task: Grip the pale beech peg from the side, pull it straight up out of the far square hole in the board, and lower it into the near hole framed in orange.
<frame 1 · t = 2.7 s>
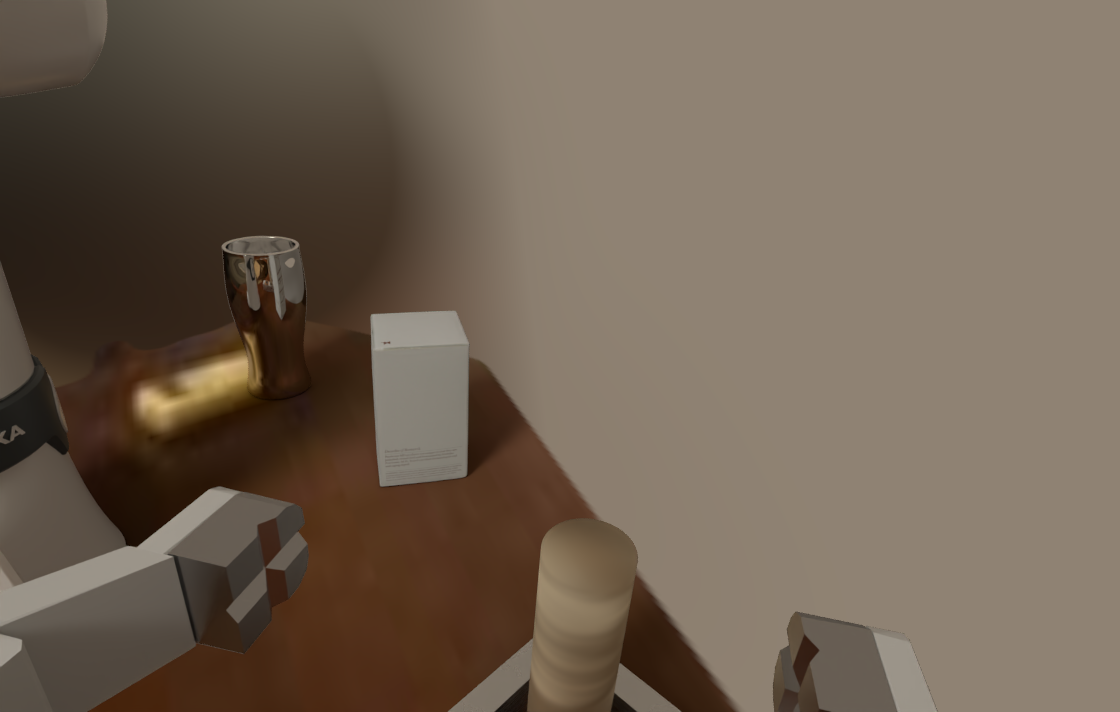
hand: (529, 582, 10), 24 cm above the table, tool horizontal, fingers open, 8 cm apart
supplement box: (421, 460, 53), on the table
beer glass: (280, 387, 62), on the table
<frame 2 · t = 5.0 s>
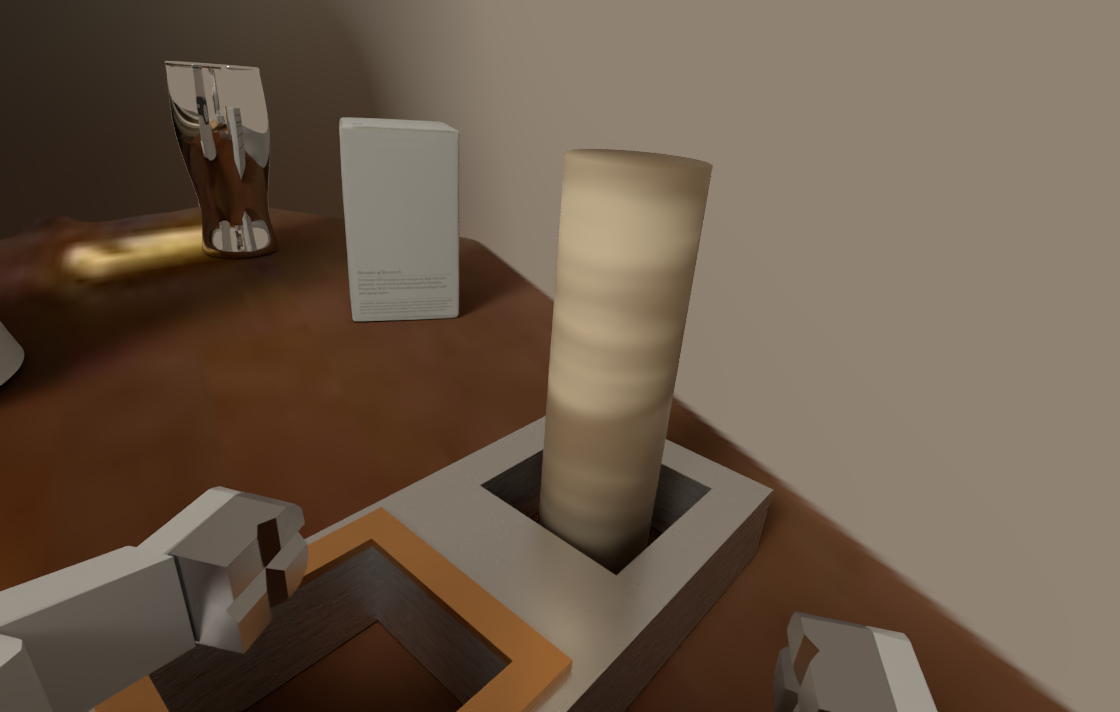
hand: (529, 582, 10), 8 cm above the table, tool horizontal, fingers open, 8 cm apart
supplement box: (403, 305, 45), on the table
beer glass: (241, 251, 54), on the table
board: (490, 634, 19), on the table
peg: (589, 553, 22), resting in board
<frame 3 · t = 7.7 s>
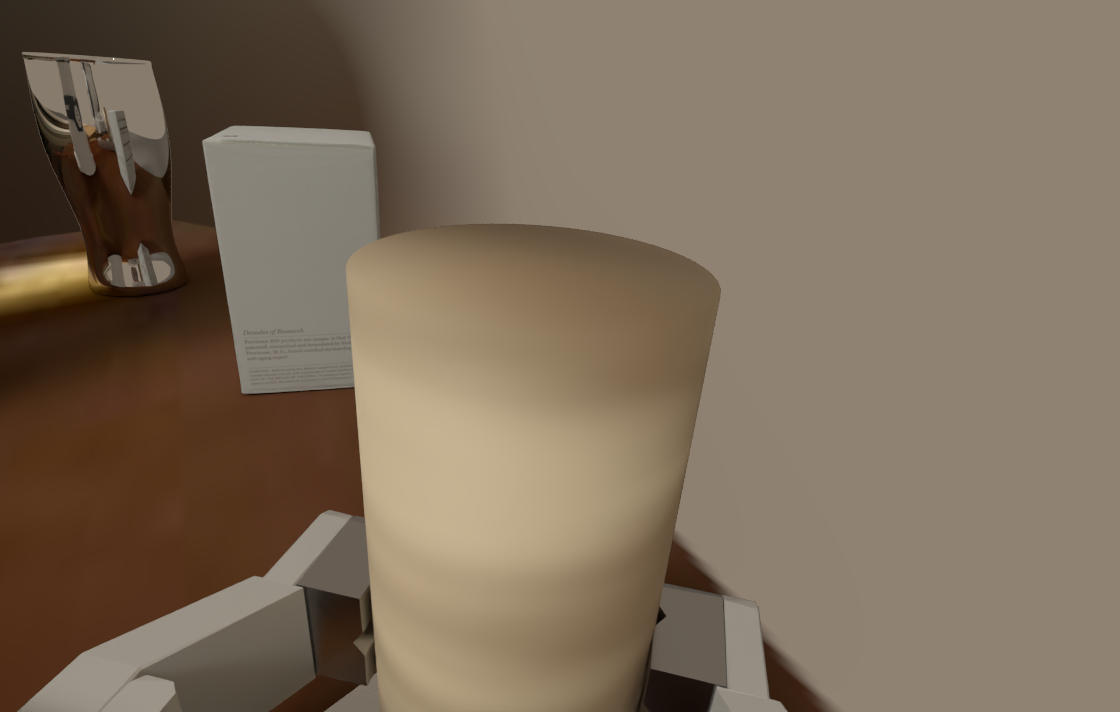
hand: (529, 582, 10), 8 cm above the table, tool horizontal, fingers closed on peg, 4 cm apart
supplement box: (320, 365, 35), on the table
beer glass: (141, 285, 44), on the table
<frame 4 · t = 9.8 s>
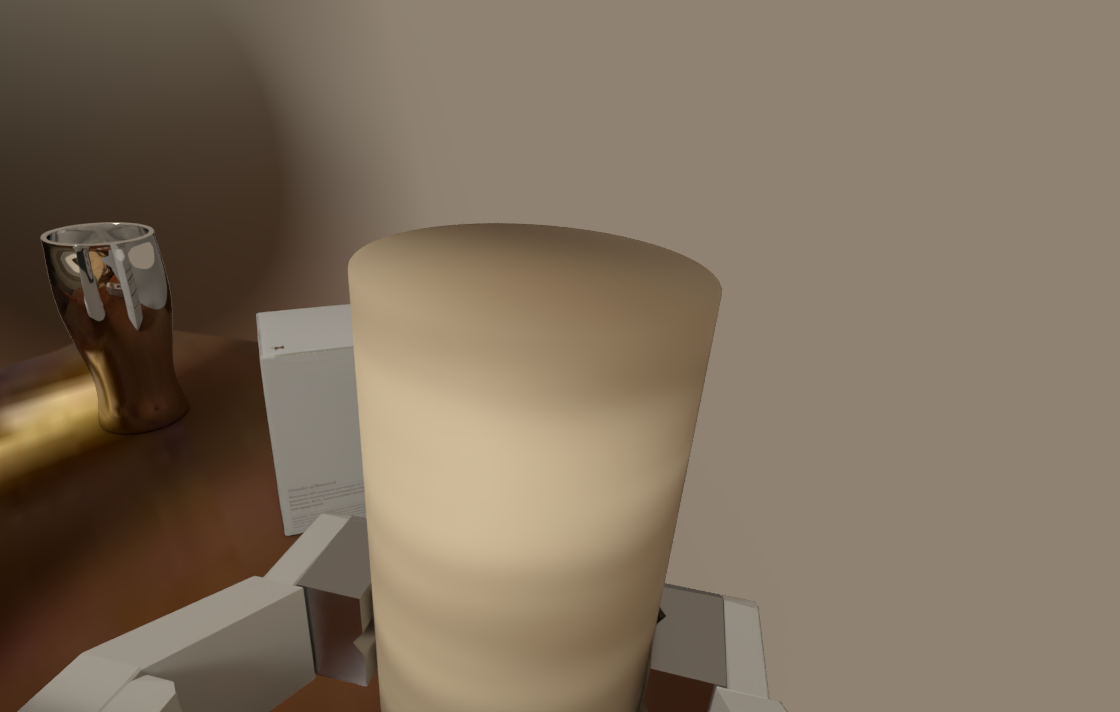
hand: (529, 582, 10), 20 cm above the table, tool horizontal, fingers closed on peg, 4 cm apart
supplement box: (338, 494, 42), on the table
beer glass: (146, 416, 49), on the table
when the fingers open (10 cm above the table, at t = 12.2 s): peg drops 1 cm, resting in board.
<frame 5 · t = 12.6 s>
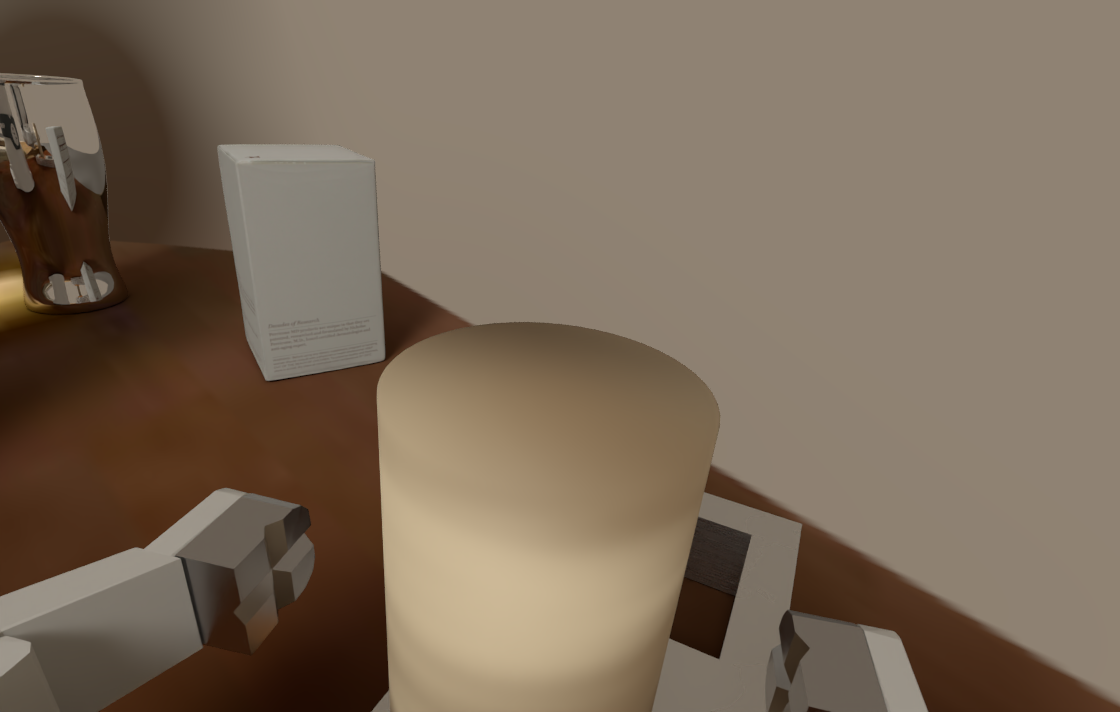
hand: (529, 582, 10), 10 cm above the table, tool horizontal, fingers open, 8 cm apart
supplement box: (315, 353, 40), on the table
beer glass: (80, 302, 44), on the table
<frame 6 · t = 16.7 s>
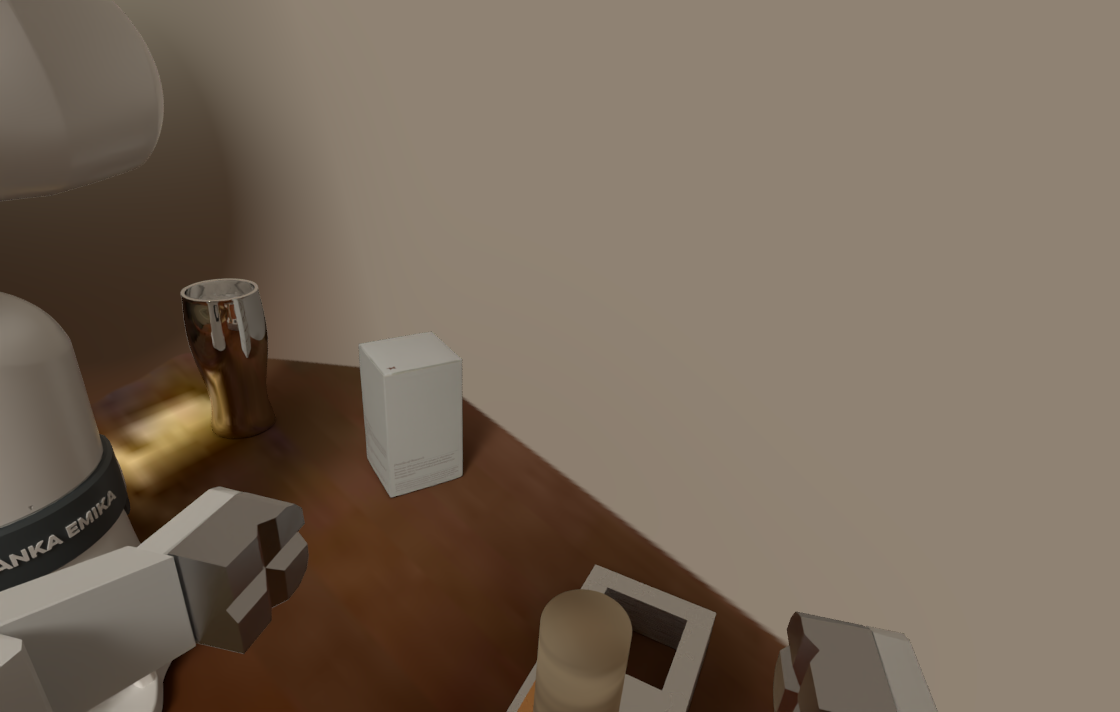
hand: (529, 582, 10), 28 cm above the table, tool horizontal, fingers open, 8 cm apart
supplement box: (414, 469, 59), on the table
beer glass: (244, 425, 63), on the table
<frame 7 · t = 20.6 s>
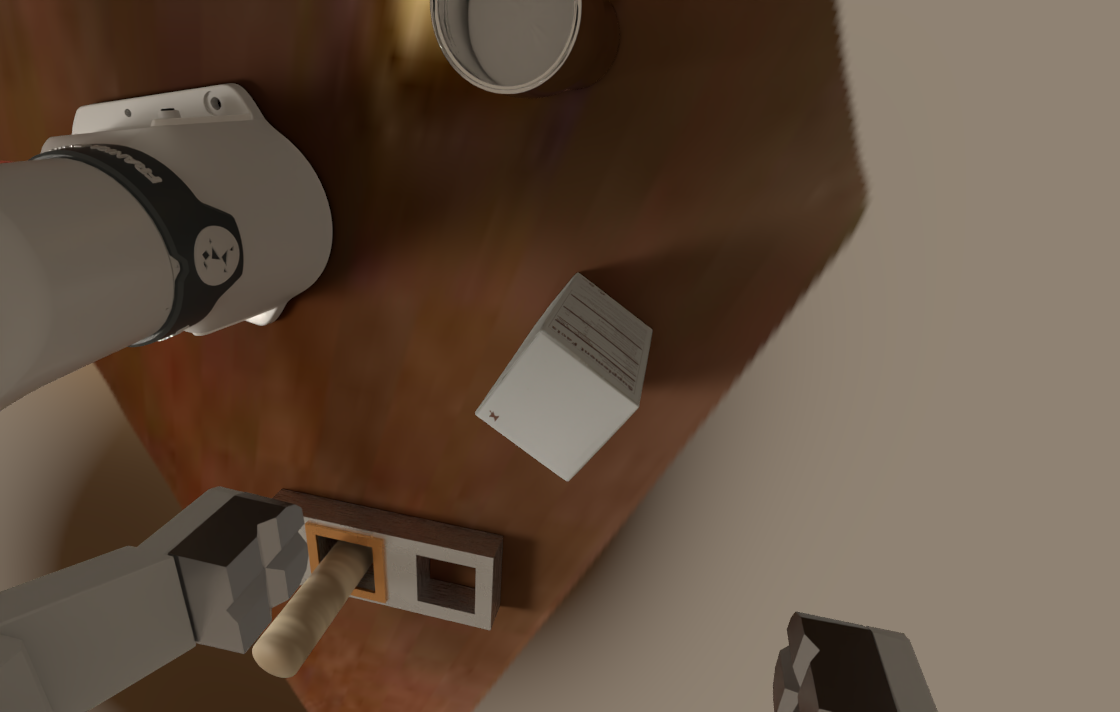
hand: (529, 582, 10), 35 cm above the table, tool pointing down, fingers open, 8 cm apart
supplement box: (589, 332, 46), on the table
beer glass: (573, 38, 38), on the table
board: (409, 551, 59), on the table
peg: (363, 541, 60), resting in board
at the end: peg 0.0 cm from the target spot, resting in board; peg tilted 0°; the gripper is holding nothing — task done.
